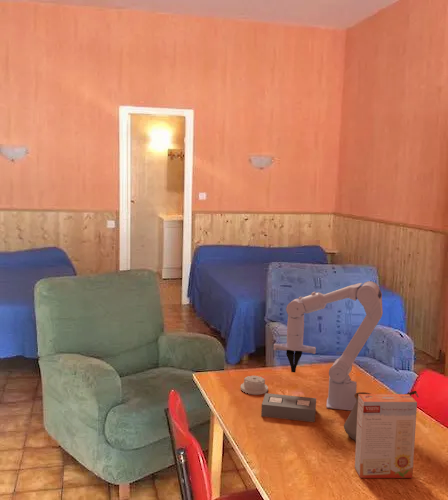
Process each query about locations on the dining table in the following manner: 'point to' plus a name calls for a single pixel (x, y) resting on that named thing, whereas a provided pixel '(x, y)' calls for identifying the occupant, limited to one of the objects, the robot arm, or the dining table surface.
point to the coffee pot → (351, 421)
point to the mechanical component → (254, 385)
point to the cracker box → (385, 435)
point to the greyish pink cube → (275, 400)
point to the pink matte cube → (303, 402)
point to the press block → (289, 408)
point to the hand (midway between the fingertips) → (293, 371)
